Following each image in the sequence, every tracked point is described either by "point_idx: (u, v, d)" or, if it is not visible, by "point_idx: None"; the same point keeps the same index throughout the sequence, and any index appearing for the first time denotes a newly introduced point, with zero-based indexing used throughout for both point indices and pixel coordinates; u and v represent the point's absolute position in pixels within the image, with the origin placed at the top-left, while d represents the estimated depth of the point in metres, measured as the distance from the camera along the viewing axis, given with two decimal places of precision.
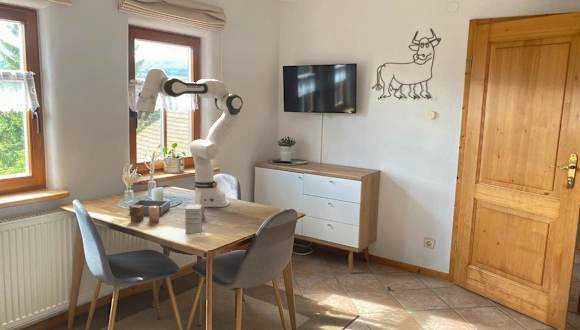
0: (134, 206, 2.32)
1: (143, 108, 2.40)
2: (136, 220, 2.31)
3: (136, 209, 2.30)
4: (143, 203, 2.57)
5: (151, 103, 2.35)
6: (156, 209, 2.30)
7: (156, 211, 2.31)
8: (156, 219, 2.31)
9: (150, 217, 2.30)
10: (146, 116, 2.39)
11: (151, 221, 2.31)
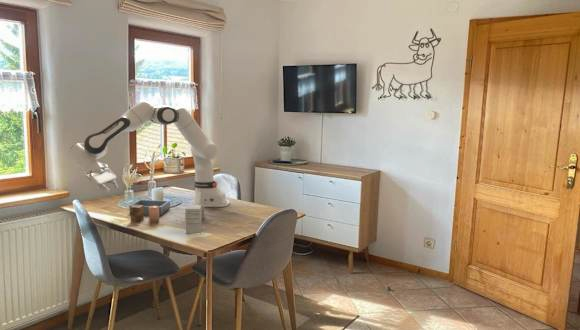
0: (134, 206, 2.32)
1: None
2: (136, 220, 2.31)
3: (136, 209, 2.30)
4: (143, 203, 2.57)
5: (89, 180, 2.22)
6: (156, 209, 2.30)
7: (156, 211, 2.31)
8: (156, 219, 2.31)
9: (150, 217, 2.30)
10: (104, 188, 2.26)
11: (151, 221, 2.31)
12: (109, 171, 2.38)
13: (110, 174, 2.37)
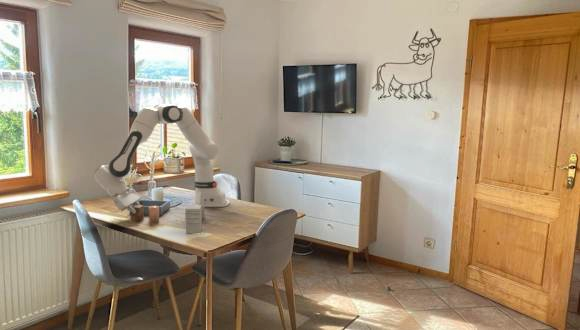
0: (134, 206, 2.32)
1: None
2: (136, 220, 2.31)
3: (136, 209, 2.30)
4: (143, 203, 2.57)
5: (116, 203, 2.23)
6: (156, 209, 2.30)
7: (156, 211, 2.31)
8: (156, 219, 2.31)
9: (150, 217, 2.30)
10: (131, 209, 2.28)
11: (151, 221, 2.31)
12: (133, 192, 2.39)
13: (134, 195, 2.38)
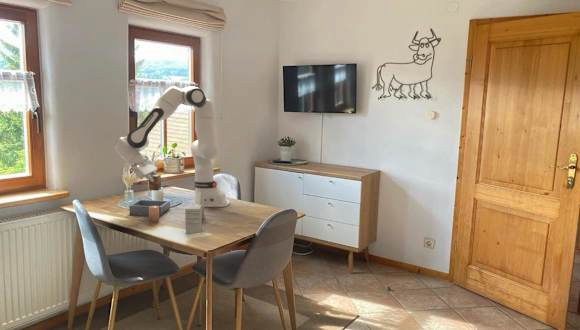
0: (152, 175, 2.46)
1: None
2: (154, 188, 2.45)
3: (154, 178, 2.44)
4: (143, 203, 2.57)
5: (135, 171, 2.37)
6: (156, 209, 2.30)
7: (156, 211, 2.31)
8: (156, 219, 2.31)
9: (150, 217, 2.30)
10: (150, 178, 2.42)
11: (151, 221, 2.31)
12: (150, 163, 2.53)
13: (152, 165, 2.52)
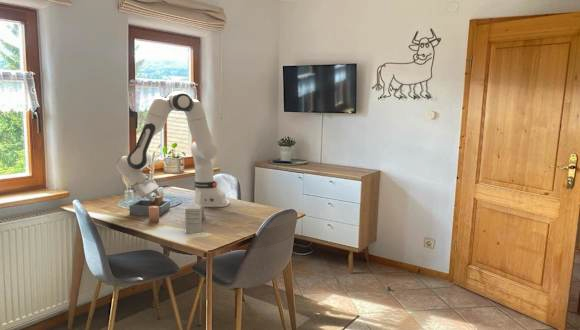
0: (153, 196, 2.49)
1: None
2: None
3: (155, 199, 2.47)
4: (143, 203, 2.57)
5: (137, 191, 2.40)
6: (156, 209, 2.30)
7: (156, 211, 2.31)
8: (156, 219, 2.31)
9: (150, 217, 2.30)
10: (150, 197, 2.44)
11: (151, 221, 2.31)
12: (152, 181, 2.56)
13: (153, 184, 2.55)
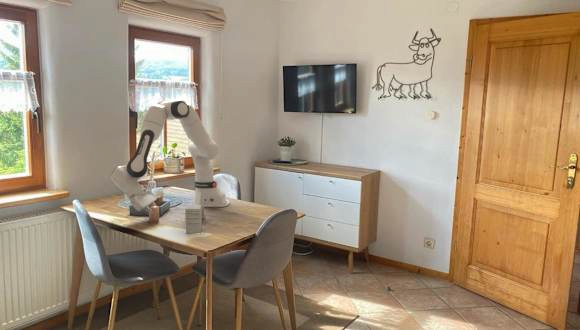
0: None
1: None
2: None
3: None
4: None
5: (133, 204, 2.22)
6: (156, 209, 2.30)
7: (156, 211, 2.31)
8: (156, 219, 2.31)
9: (150, 217, 2.30)
10: (148, 210, 2.28)
11: (151, 221, 2.31)
12: (150, 193, 2.39)
13: (151, 196, 2.37)
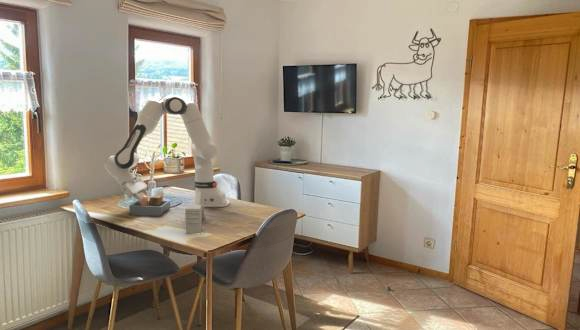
0: (153, 196, 2.49)
1: None
2: None
3: (155, 199, 2.47)
4: None
5: (124, 190, 2.40)
6: (146, 198, 2.49)
7: (146, 200, 2.49)
8: None
9: (140, 205, 2.49)
10: (138, 197, 2.44)
11: None
12: (140, 181, 2.57)
13: (141, 183, 2.56)
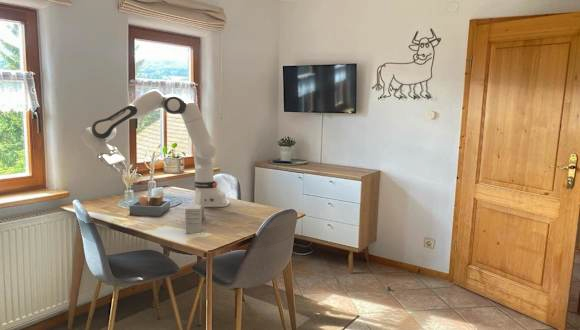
0: (153, 196, 2.49)
1: None
2: None
3: (155, 199, 2.47)
4: None
5: (101, 161, 2.38)
6: (146, 198, 2.49)
7: (146, 200, 2.49)
8: None
9: (140, 205, 2.49)
10: (114, 169, 2.43)
11: None
12: (118, 153, 2.55)
13: (119, 156, 2.54)
